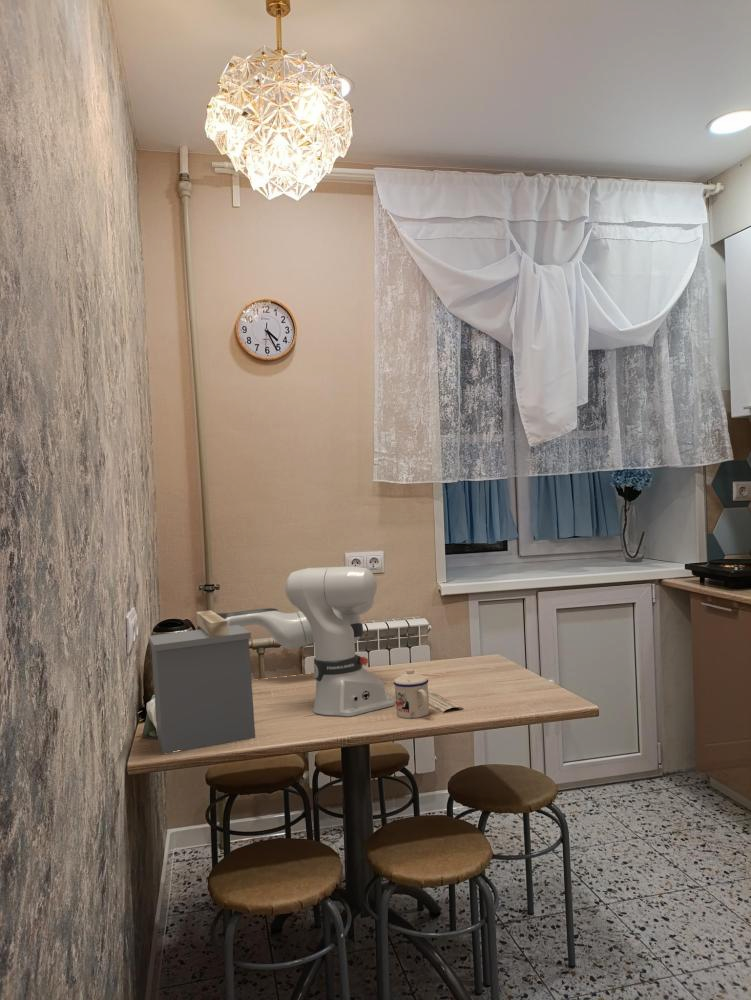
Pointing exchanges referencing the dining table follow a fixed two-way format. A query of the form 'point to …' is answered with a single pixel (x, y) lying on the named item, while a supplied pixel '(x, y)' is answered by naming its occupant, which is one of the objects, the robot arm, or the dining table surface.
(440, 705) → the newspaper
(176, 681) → the cabinet
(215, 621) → the beech bar
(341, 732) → the dining table surface
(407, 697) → the teacup with lid
